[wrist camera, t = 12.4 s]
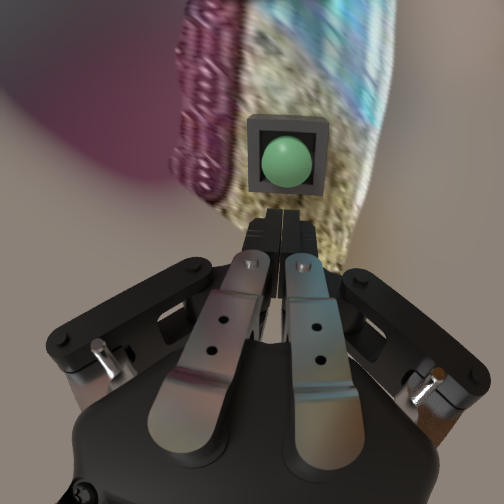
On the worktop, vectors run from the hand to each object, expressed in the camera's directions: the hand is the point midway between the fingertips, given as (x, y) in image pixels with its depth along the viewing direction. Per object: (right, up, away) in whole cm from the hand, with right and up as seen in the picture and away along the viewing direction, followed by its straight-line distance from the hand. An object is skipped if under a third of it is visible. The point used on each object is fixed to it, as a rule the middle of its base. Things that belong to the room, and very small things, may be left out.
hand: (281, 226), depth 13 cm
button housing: (+2, +9, +12) cm, 15 cm away
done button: (+2, +7, +9) cm, 12 cm away
